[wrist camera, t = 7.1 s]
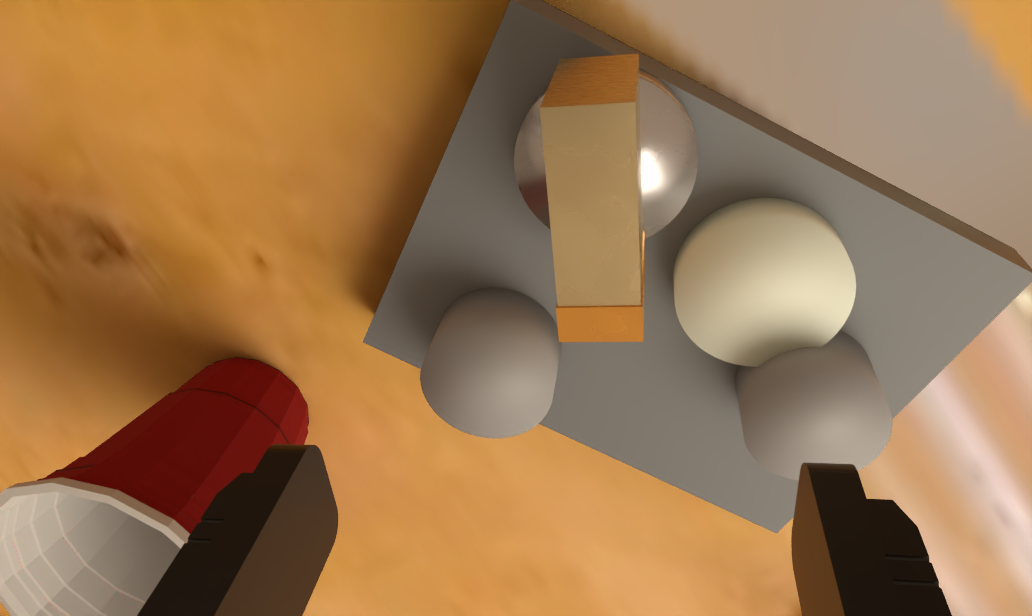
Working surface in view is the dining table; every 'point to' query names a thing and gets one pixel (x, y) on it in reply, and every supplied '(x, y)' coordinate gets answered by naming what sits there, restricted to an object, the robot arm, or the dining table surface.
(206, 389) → the plastic cup
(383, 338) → the base
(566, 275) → the wing knob
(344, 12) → the dining table surface
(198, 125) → the dining table surface
